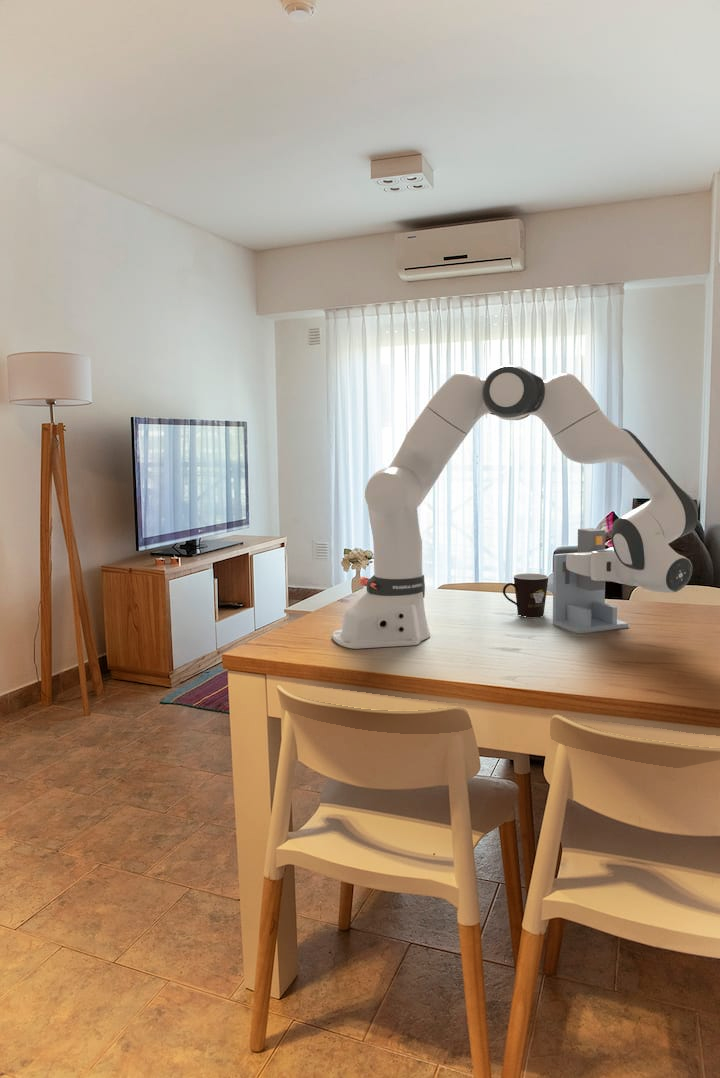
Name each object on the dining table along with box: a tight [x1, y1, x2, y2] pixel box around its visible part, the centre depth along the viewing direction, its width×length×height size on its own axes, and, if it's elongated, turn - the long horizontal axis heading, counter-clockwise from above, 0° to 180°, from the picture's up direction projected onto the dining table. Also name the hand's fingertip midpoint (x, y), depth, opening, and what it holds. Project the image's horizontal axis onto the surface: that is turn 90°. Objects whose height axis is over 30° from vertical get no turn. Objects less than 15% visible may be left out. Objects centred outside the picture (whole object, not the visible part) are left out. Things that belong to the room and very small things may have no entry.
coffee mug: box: [502, 573, 549, 618], centre depth 189 cm, size 12×9×10 cm
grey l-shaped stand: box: [552, 552, 629, 634], centre depth 176 cm, size 14×10×17 cm
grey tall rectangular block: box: [577, 527, 607, 591], centre depth 175 cm, size 4×6×14 cm
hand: (588, 555), depth 176 cm, fingers closed on grey tall rectangular block, 4 cm apart
